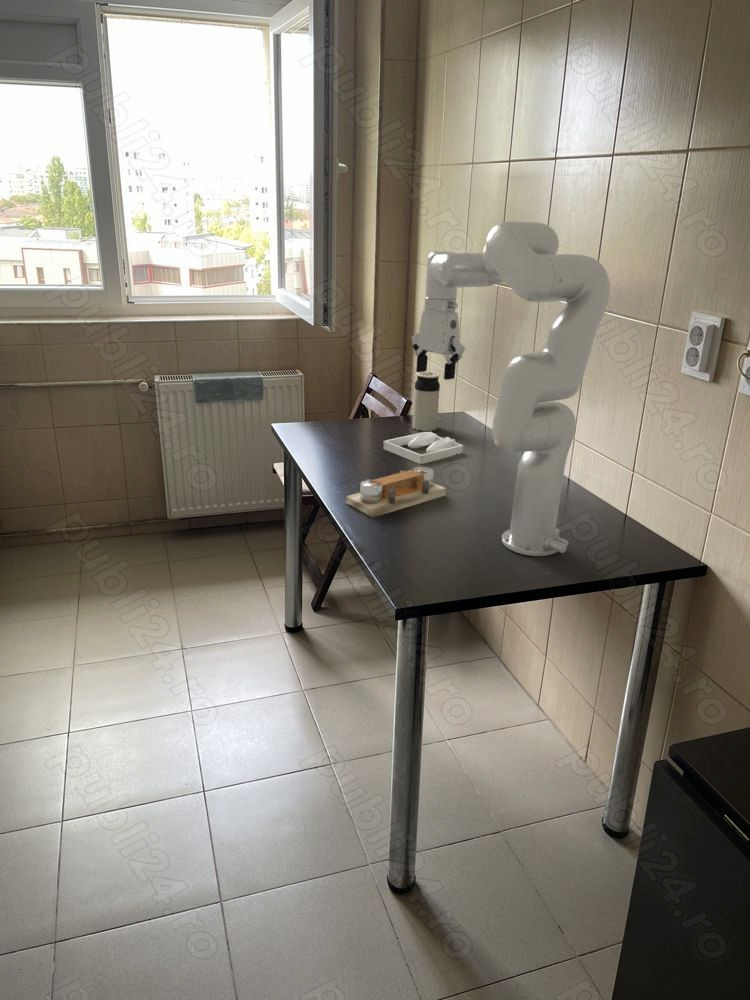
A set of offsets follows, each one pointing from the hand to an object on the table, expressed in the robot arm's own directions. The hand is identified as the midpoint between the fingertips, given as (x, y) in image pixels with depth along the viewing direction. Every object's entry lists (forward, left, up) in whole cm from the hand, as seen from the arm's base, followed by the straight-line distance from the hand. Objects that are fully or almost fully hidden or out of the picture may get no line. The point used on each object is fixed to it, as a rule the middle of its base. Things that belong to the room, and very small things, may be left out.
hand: (435, 375), depth 183 cm
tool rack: (-6, +16, -28) cm, 33 cm away
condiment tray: (+18, -16, -28) cm, 37 cm away
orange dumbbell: (-6, +16, -26) cm, 31 cm away
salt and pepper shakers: (+19, -19, -29) cm, 39 cm away
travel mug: (+35, -33, -28) cm, 56 cm away
